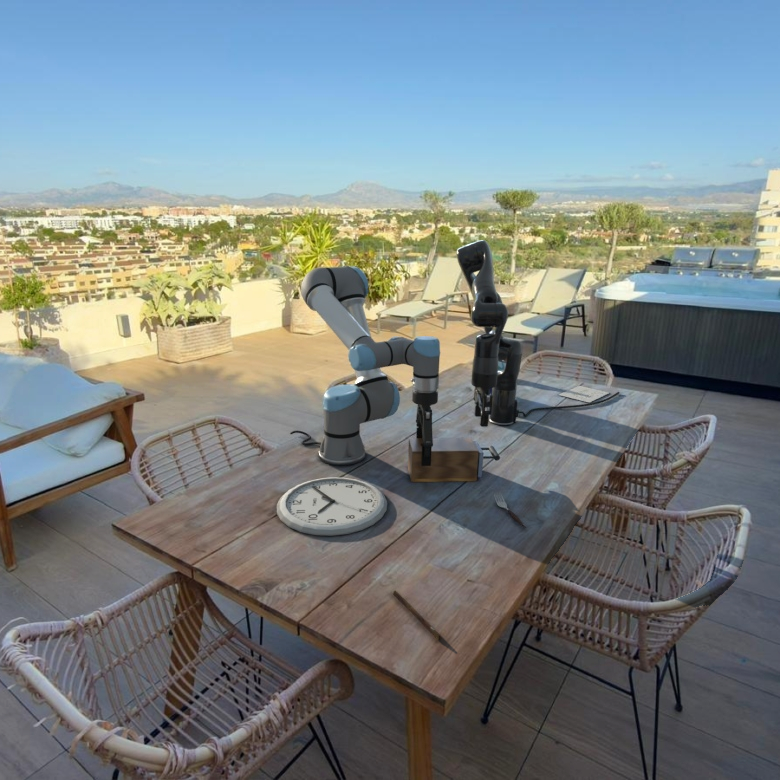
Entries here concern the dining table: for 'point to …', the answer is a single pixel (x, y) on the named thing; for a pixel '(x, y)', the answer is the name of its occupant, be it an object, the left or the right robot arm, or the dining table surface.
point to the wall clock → (331, 506)
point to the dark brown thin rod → (416, 614)
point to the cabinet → (444, 460)
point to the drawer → (485, 457)
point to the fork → (504, 505)
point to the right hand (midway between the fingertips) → (481, 421)
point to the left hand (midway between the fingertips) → (423, 455)
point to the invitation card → (584, 394)
